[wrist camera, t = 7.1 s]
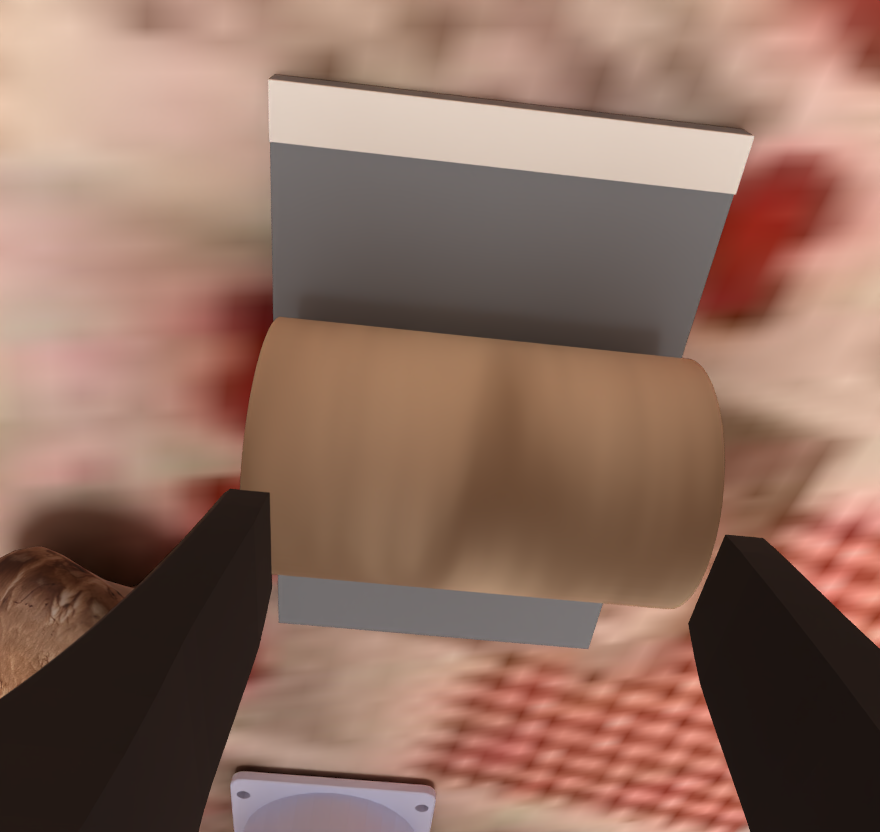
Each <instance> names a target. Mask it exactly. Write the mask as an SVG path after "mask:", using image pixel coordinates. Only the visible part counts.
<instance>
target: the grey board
mask: <svg viewBox="0 0 880 832" xmlns="http://www.w3.org/2000/svg"><path fill="white" fill-rule="evenodd" d="M268 109H269V142H270V162H271V218H272V274H273V322H274V320H275V319H276V318H278V317H287V318H297V319H306V320H316V321H326V322H335V323H345V324H355V325H365V326H374V327H384V328H394V329H403V330H413V331H423V332H433V333H442V334H452V335H462V336H471V337H481V338H491V339H501V340H510V341H520V342H530V343H539V344H549V345H559V346H569V347H578V348H588V349H598V350H607V351H617V352H627V353H637V354H646V355H656V356H666V357H675V358H682V355H683V352H684V349H685V345H686V342H687V339H688V336H689V333H690V330H691V327H692V324H693V321H694V317H695V314H696V311H697V308H698V305H699V302H700V299H701V296H702V292H703V289H704V286H705V283H706V280H707V277H708V274H709V271H710V267H711V264H712V261H713V258H714V255H715V252H716V249H717V246H718V243H719V239H720V236H721V233H722V230H723V227H724V224H725V221H726V218H727V214H728V211H729V208H730V205H731V202H732V199H733V196H734V194H736V192H737V189H738V186H739V183H740V180H741V177H742V174H743V171H744V167H745V164H746V161H747V158H748V155H749V152H750V149H751V146H752V143H753V140H754V136H753V135H752V134H750V133H748V132H747V131H745V130H744V129H737V128H729V127H720V126H712V125H703V124H695V123H686V122H678V121H669V120H661V119H652V118H643V117H635V116H626V115H618V114H609V113H601V112H592V111H584V110H575V109H567V108H558V107H550V106H541V105H532V104H524V103H515V102H507V101H498V100H490V99H481V98H473V97H464V96H456V95H447V94H438V93H430V92H421V91H413V90H404V89H396V88H387V87H379V86H370V85H362V84H353V83H345V82H336V81H327V80H319V79H310V78H302V77H293V76H285V75H276V74H275V75H274V76H272V77H271V78H269V79H268ZM602 604H603V603H592V602H581V601H570V600H558V599H547V598H535V597H524V596H513V595H501V594H490V593H479V592H467V591H456V590H444V589H433V588H422V587H410V586H399V585H387V584H376V583H365V582H353V581H342V580H330V579H319V578H308V577H296V576H285V575H278V609H279V623H288V624H300V625H312V626H323V627H335V628H347V629H359V630H371V631H382V632H394V633H406V634H418V635H429V636H441V637H453V638H465V639H476V640H488V641H500V642H512V643H523V644H535V645H547V646H559V647H570V648H582V649H588V648H589V645H590V642H591V639H592V636H593V633H594V629H595V626H596V623H597V620H598V617H599V614H600V611H601V608H602Z"/></svg>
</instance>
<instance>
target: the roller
mask: <svg viewBox="0 0 880 832" xmlns="http://www.w3.org/2000/svg"><path fill="white" fill-rule="evenodd" d="M724 472H725V453H724V436H723V426H722V420H721V413H720V409H719V404H718V400H717V396H716V393H715V391H714V388H713V385H712V383H711V381H710V379H709V377H708V375H707V373H706V372H705V370H704V369H703V368H702V366H700V365H699V364H698V363H697V362H696V361H694V360H691V359H685V358H675V357H666V356H656V355H646V354H637V353H627V352H617V351H607V350H598V349H588V348H578V347H569V346H559V345H549V344H539V343H530V342H520V341H510V340H501V339H491V338H481V337H471V336H462V335H452V334H442V333H433V332H423V331H413V330H403V329H394V328H384V327H374V326H365V325H355V324H345V323H335V322H326V321H316V320H306V319H297V318H287V317H278V318H276V319H275V320H274V322H273V323H272V325H271V326H270V328H269V330H268V332H267V335H266V337H265V340H264V342H263V345H262V348H261V351H260V355H259V359H258V362H257V366H256V370H255V375H254V379H253V384H252V389H251V394H250V399H249V406H248V412H247V418H246V426H245V433H244V442H243V452H242V463H241V477H240V490H248V491H259V492H270V523H271V565H272V574H274V575H285V576H296V577H308V578H319V579H330V580H342V581H353V582H365V583H376V584H387V585H399V586H410V587H422V588H433V589H444V590H456V591H467V592H479V593H490V594H501V595H513V596H524V597H535V598H547V599H558V600H570V601H581V602H592V603H604V604H615V605H627V606H638V607H649V608H661V609H675V608H677V607H680V606H681V605H683V604H684V603H685V602H686V601H687V600H688V599H689V598H690V597H691V596H692V595H693V593H694V592H695V590H696V589H697V587H698V585H699V584H700V582H701V580H702V578H703V575H704V573H705V571H706V569H707V566H708V563H709V560H710V558H711V555H712V551H713V548H714V544H715V541H716V536H717V531H718V527H719V522H720V515H721V509H722V502H723V490H724Z"/></svg>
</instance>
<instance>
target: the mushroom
mask: <svg viewBox="0 0 880 832" xmlns="http://www.w3.org/2000/svg"><path fill="white" fill-rule="evenodd" d="M135 587H136V586H134V587H127V586H124V585H120V584H117V583H113V582H110V581H106V580H104V579H102V578H100V577H99V576H97V575H95V574H93V573H91V572H89V571H88V570H86V569H85V568H83V567H81V566H80V565H78V564H77V563H75V562H73V561H72V560H70V559H69V558H67V557H65V556H64V555H62V554H60V553H57V552H55V551H52V550H50V549H47V548H45V547H31V548H25V549H20V550H15V551H13V552H11V553H9V554H7V555H5V556H3V557H1V558H0V698H2V697H3V696H4V695H6V694H7V693H9V692H10V691H11V690H13V689H14V688H15V687H17V686H18V685H20V684H21V683H22V682H24V681H25V680H27V679H28V678H29V677H31V676H32V675H33V674H35V673H36V672H37V671H38V670H40V669H41V668H42V667H44V666H45V665H46V664H47V663H49V662H50V661H51V660H52V659H54V658H55V657H56V656H58V655H59V654H60V653H61V652H63V651H64V650H65V649H66V648H68V647H69V646H70V645H71V644H72V643H74V642H75V641H76V640H77V639H78V638H80V637H81V636H82V635H83V634H84V633H85V632H87V631H88V630H89V629H90V628H91V627H93V626H94V625H95V624H96V623H97V622H98V621H99V620H100V619H101V618H103V617H104V616H105V615H106V614H107V613H108V612H109V611H110V610H111V609H112V608H113V607H115V606H116V605H117V604H118V603H119V602H120V601H121V600H122V599H123V598H124V597H126V596H127V595H128V594H129V593H130V592H131V591H132V590H133V589H134V588H135Z"/></svg>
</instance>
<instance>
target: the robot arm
mask: <svg viewBox="0 0 880 832" xmlns="http://www.w3.org/2000/svg"><path fill="white" fill-rule="evenodd" d="M271 590H272V565H271V523H270V492H259V491H248V490H237V489H229V490H228V491H227V492H225V493H224V494H223V495H222V496H221V497H220V498H219V500H218V501H217V502H216V503H215V504H214V505H213V506H212V508H211V509H210V510H209V511H208V512H207V513H206V514H205V516H204V517H203V518H202V519H201V520H200V521H199V522H198V523H197V525H196V526H195V527H194V528H193V529H192V530H191V531H190V532H189V533H188V534H187V535H186V536H185V538H184V539H183V540H182V541H181V542H180V543H179V544H178V545H177V546H176V547H175V548H174V549H173V550H172V551H171V552H170V553H169V554H168V555H167V556H166V557H165V558H164V559H163V560H162V561H161V562H160V563H159V564H158V565H157V566H156V568H155V569H154V570H153V571H152V572H151V573H150V574H149V575H148V576H147V577H146V578H145V579H144V580H143V581H142V582H141V583H140V584H138V585H137V586H136V587H135V588H134V589H133V590H132V591H131V592H130V593H129V594H128V595H127V596H126V597H124V598H123V599H122V600H121V601H120V602H119V603H118V604H117V605H116V606H115V607H113V608H112V609H111V610H110V611H109V612H108V613H107V614H106V615H105V616H104V617H103V618H101V619H100V620H99V621H98V622H97V623H96V624H95V625H94V626H93V627H91V628H90V629H89V630H88V631H87V632H85V633H84V634H83V635H82V636H81V637H80V638H78V639H77V640H76V641H75V642H74V643H72V644H71V645H70V646H69V647H68V648H66V649H65V650H64V651H63V652H61V653H60V654H59V655H58V656H56V657H55V658H54V659H52V660H51V661H50V662H49V663H47V664H46V665H45V666H44V667H42V668H41V669H40V670H38V671H37V672H36V673H35V674H33V675H32V676H31V677H29V678H28V679H27V680H25V681H24V682H22V683H21V684H20V685H18V686H17V687H15V688H14V689H13V690H11V691H10V692H9V693H7V694H6V695H4V696H3V697H2V698H0V832H199V827H200V823H201V819H202V815H203V812H204V809H205V805H206V802H207V799H208V795H209V792H210V789H211V785H212V782H213V779H214V776H215V774H216V771H217V768H218V765H219V762H220V759H221V756H222V753H223V750H224V748H225V745H226V742H227V739H228V736H229V733H230V730H231V727H232V724H233V722H234V719H235V716H236V713H237V710H238V707H239V704H240V701H241V698H242V696H243V693H244V690H245V687H246V684H247V681H248V678H249V675H250V672H251V669H252V666H253V663H254V660H255V657H256V654H257V651H258V648H259V645H260V640H261V636H262V631H263V627H264V623H265V618H266V613H267V609H268V604H269V599H270V595H271ZM688 625H689V630H690V636H691V641H692V646H693V652H694V657H695V662H696V667H697V671H698V676H699V680H700V685H701V688H702V691H703V694H704V697H705V700H706V703H707V706H708V709H709V712H710V715H711V718H712V721H713V724H714V727H715V730H716V733H717V736H718V739H719V742H720V745H721V747H722V750H723V753H724V756H725V759H726V762H727V765H728V768H729V771H730V774H731V776H732V779H733V782H734V785H735V788H736V791H737V794H738V797H739V800H740V803H741V805H742V808H743V811H744V814H745V817H746V820H747V823H748V826H749V829H750V832H880V649H879V648H878V647H877V646H876V645H875V644H874V643H873V642H872V641H871V640H870V639H869V638H868V637H866V636H865V635H864V634H863V633H862V632H861V631H860V630H859V629H858V628H857V627H856V626H855V625H854V624H853V623H852V622H851V621H850V620H848V619H847V618H846V617H845V616H844V615H843V614H842V613H841V612H840V611H839V610H838V609H837V608H836V607H835V606H834V605H833V604H832V603H831V602H830V601H829V600H828V599H827V598H826V597H825V596H824V595H823V594H822V593H821V592H820V591H818V590H817V589H816V588H815V587H814V586H813V585H812V584H811V583H810V582H809V581H808V580H807V579H806V578H805V577H804V576H803V575H802V574H801V573H800V572H799V571H798V570H797V569H796V568H795V567H794V566H793V565H792V564H791V563H790V562H789V561H788V560H786V559H785V558H784V557H783V556H782V555H781V554H780V553H779V552H778V551H777V550H776V549H775V548H774V547H773V546H771V545H770V544H769V543H768V542H767V541H766V540H765V539H763V538H756V537H745V536H735V535H725V537H724V539H723V542H722V544H721V546H720V549H719V551H718V554H717V556H716V558H715V561H714V563H713V566H712V568H711V570H710V573H709V575H708V578H707V580H706V582H705V585H704V587H703V590H702V592H701V594H700V597H699V599H698V602H697V604H696V606H695V609H694V611H693V614H692V616H691V618H690V621H689V623H688ZM230 789H231V801H232V813H233V825H234V832H430V829H431V824H432V818H433V813H434V807H435V802H436V792H435V790H434V789H433V788H432V787H430V786H427V785H419V784H406V783H393V782H380V781H366V780H353V779H340V778H327V777H314V776H301V775H288V774H275V773H261V772H248V771H240V772H237V773H235V774H234V775H233V777H232V781H231V784H230Z"/></svg>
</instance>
